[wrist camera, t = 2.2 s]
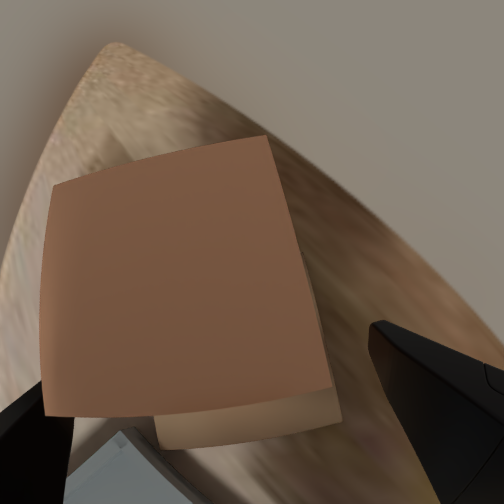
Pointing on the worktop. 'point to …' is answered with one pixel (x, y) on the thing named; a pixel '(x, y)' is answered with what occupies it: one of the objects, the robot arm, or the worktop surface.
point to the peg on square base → (253, 415)
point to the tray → (129, 476)
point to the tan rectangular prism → (176, 288)
